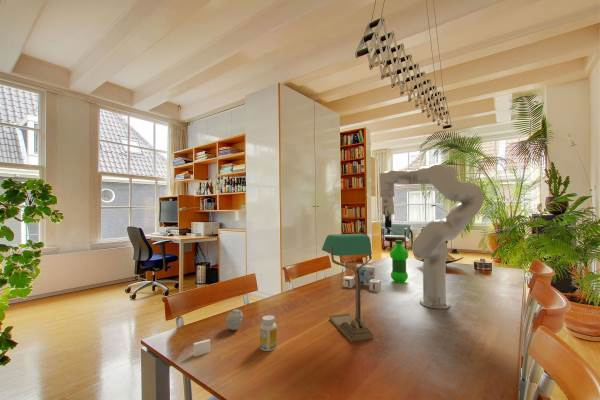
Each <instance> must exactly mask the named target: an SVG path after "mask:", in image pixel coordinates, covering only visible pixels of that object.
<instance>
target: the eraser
mask: <svg viewBox="0 0 600 400" xmlns="http://www.w3.org/2000/svg"><path fill="white" fill-rule="evenodd" d="M211 345H212V344H211V339H210V338H209V339H205V340H202V341H197V342H193V356H194V357H198V356H202V355H205V354H209V353H211Z"/></svg>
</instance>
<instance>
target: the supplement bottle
mask: <svg viewBox="0 0 600 400" xmlns="http://www.w3.org/2000/svg"><path fill="white" fill-rule="evenodd" d="M275 318H276V317H275V316H274V315H271V314H270V315H264V316H262V319H261V320H262V321H261V322H262V323H261V324H260V326H259V349H260V351H263V352H271V351H273V350H275V349H276V348H277V327H278V326H277V324H276V322H275V321H276V319H275Z"/></svg>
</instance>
